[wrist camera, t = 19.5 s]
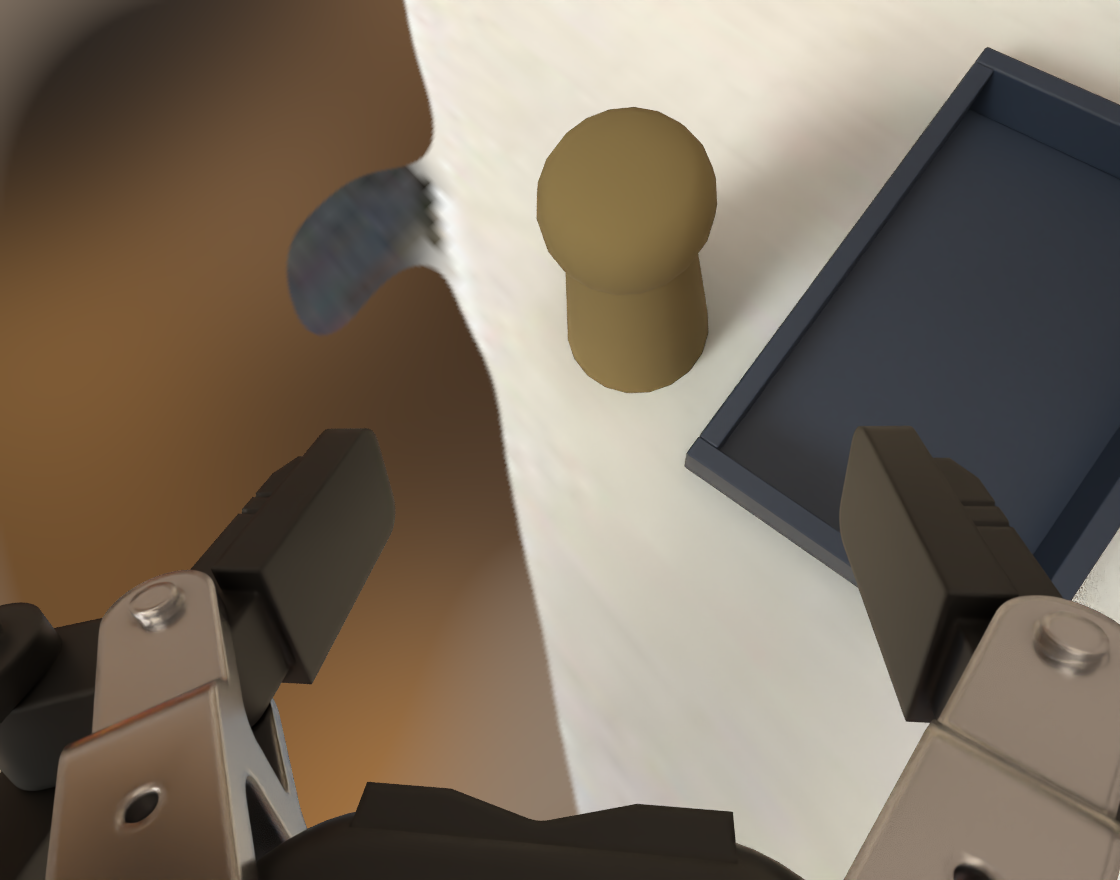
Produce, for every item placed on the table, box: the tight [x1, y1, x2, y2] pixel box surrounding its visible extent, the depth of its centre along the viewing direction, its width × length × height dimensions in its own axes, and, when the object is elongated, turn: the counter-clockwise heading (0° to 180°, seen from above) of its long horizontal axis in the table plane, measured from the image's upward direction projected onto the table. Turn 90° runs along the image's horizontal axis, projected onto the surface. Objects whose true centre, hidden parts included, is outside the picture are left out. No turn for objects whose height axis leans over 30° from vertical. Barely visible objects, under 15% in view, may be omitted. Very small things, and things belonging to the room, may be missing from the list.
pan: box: [685, 47, 1120, 601], centre depth 24 cm, size 20×13×3 cm, turn 142°
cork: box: [537, 107, 717, 393], centre depth 22 cm, size 6×6×11 cm
